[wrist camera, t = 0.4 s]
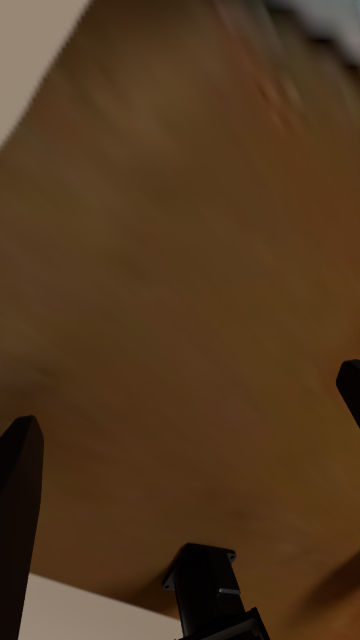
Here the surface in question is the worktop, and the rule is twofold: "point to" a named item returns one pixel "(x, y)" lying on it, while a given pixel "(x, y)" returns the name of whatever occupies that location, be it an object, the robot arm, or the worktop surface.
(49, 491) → the worktop surface
